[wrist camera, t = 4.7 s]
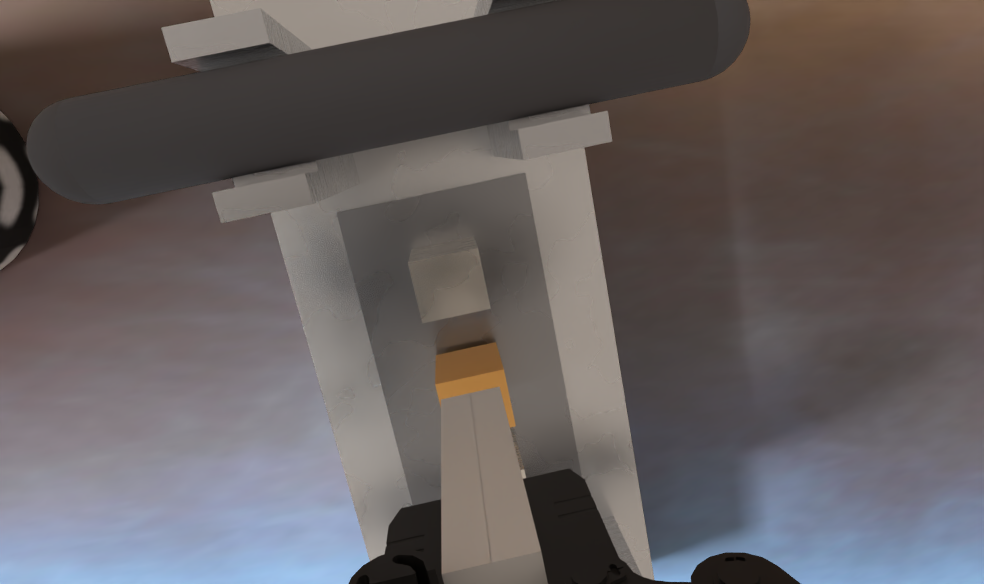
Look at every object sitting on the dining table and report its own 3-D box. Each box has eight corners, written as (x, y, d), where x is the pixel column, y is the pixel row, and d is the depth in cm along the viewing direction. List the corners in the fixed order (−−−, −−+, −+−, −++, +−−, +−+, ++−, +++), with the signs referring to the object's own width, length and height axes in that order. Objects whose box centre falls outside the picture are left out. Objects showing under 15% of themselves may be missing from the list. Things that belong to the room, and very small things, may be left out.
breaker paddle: (447, 405, 21) (448, 441, 18) (435, 355, 20) (435, 384, 18) (506, 392, 21) (515, 426, 18) (495, 342, 20) (503, 369, 18)
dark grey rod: (86, 209, 13) (24, 219, 11) (51, 112, 13) (-19, 105, 11) (727, 76, 14) (775, 64, 12) (716, -22, 13) (764, -52, 11)
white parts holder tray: (422, 617, 30) (409, 979, 17) (255, -2, 23) (22, -195, 10) (624, 570, 30) (764, 889, 17) (516, -53, 24) (609, -303, 11)
